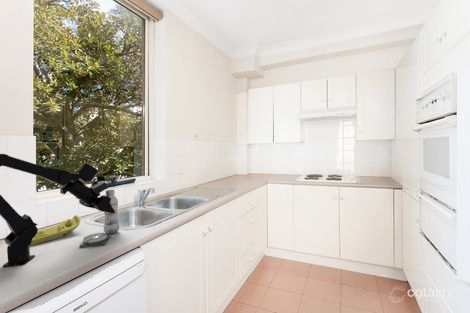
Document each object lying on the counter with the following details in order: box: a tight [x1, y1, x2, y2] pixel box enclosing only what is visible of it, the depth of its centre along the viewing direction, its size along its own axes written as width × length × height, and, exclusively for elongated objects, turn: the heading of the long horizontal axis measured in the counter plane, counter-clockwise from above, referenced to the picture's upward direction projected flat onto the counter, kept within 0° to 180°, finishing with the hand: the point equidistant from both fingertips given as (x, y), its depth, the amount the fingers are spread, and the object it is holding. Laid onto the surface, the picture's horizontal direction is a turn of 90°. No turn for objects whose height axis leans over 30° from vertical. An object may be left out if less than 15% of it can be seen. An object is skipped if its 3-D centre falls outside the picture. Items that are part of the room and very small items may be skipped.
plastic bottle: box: [103, 189, 120, 235], centre depth 111 cm, size 6×7×20 cm
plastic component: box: [29, 215, 81, 246], centre depth 109 cm, size 20×7×10 cm
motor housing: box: [79, 232, 111, 249], centre depth 101 cm, size 9×9×2 cm
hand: (109, 210), depth 110 cm, fingers open, 9 cm apart
